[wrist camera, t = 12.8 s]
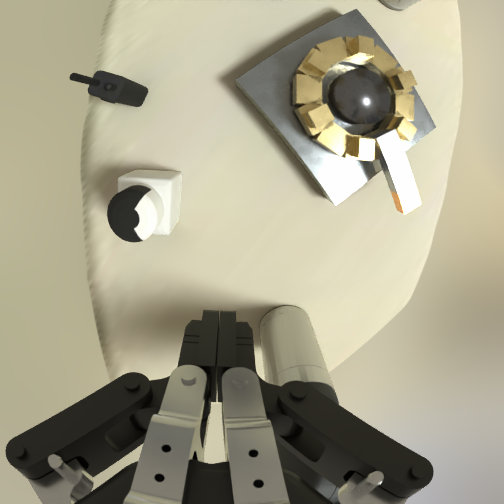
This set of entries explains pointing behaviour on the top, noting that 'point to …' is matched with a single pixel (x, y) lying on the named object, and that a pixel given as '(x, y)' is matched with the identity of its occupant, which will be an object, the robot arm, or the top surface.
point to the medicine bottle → (145, 204)
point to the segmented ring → (374, 143)
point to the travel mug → (398, 4)
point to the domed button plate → (329, 105)
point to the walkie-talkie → (113, 88)
